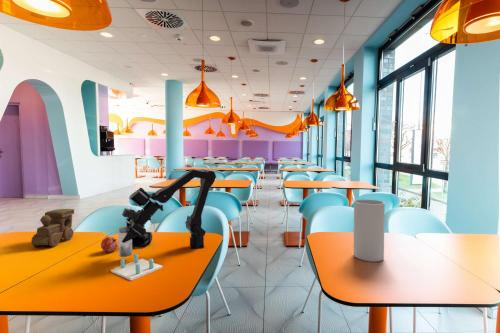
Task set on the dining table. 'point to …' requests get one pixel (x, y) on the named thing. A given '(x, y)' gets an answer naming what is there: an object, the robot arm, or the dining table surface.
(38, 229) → the wooden toy train
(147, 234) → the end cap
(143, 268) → the tray
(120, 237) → the shaker
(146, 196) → the robot arm
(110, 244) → the pomegranate
